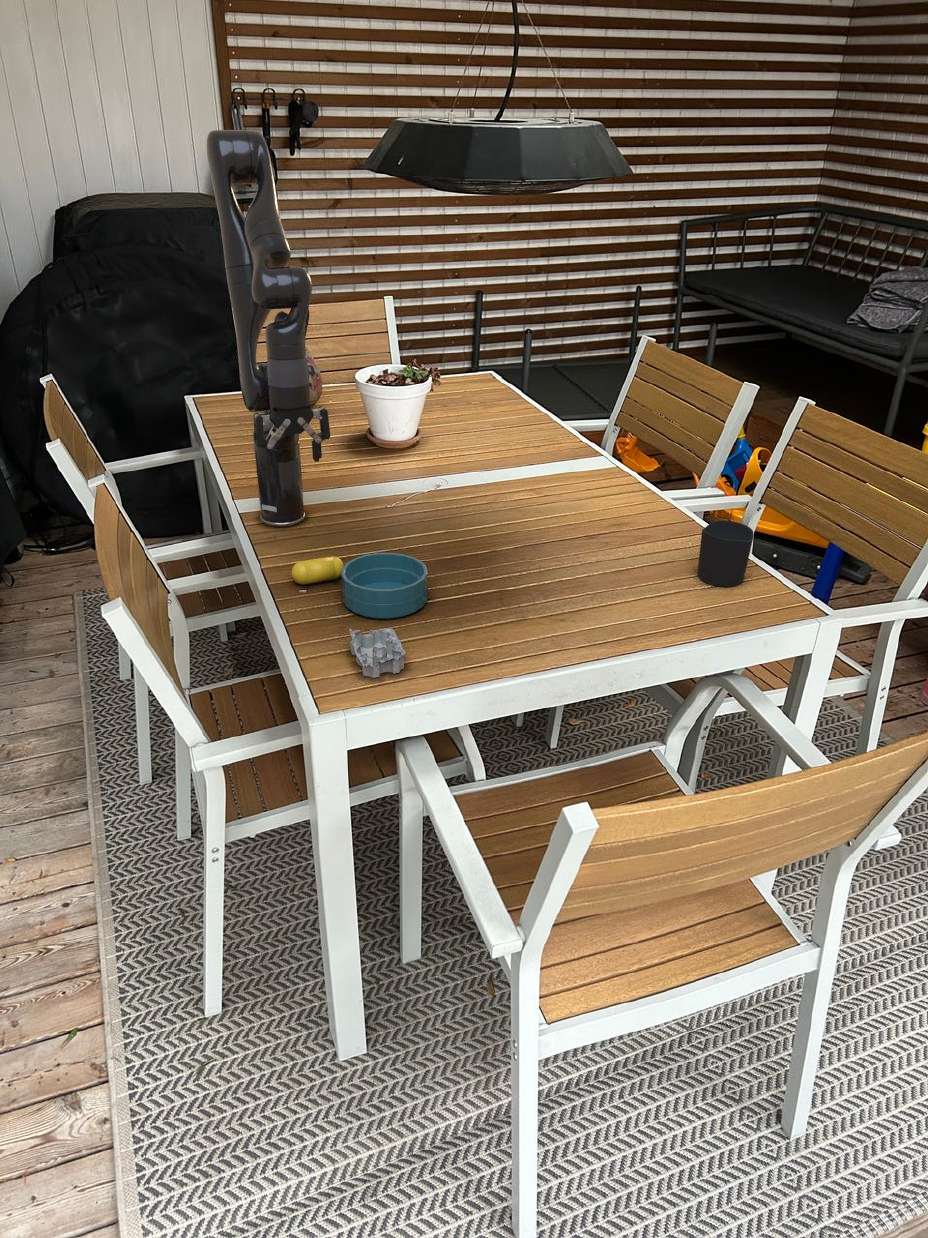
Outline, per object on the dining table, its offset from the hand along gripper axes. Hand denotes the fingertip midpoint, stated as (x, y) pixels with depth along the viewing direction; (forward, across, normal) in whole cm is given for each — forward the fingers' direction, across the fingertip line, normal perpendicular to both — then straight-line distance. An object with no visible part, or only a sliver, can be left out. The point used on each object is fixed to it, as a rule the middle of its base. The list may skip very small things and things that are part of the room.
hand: (294, 463), depth 184 cm
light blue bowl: (+17, -8, +29) cm, 35 cm away
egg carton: (+18, 0, +48) cm, 51 cm away
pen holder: (+18, -71, +44) cm, 85 cm away
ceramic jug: (+17, -23, -87) cm, 91 cm away
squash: (+17, +1, +17) cm, 24 cm away
